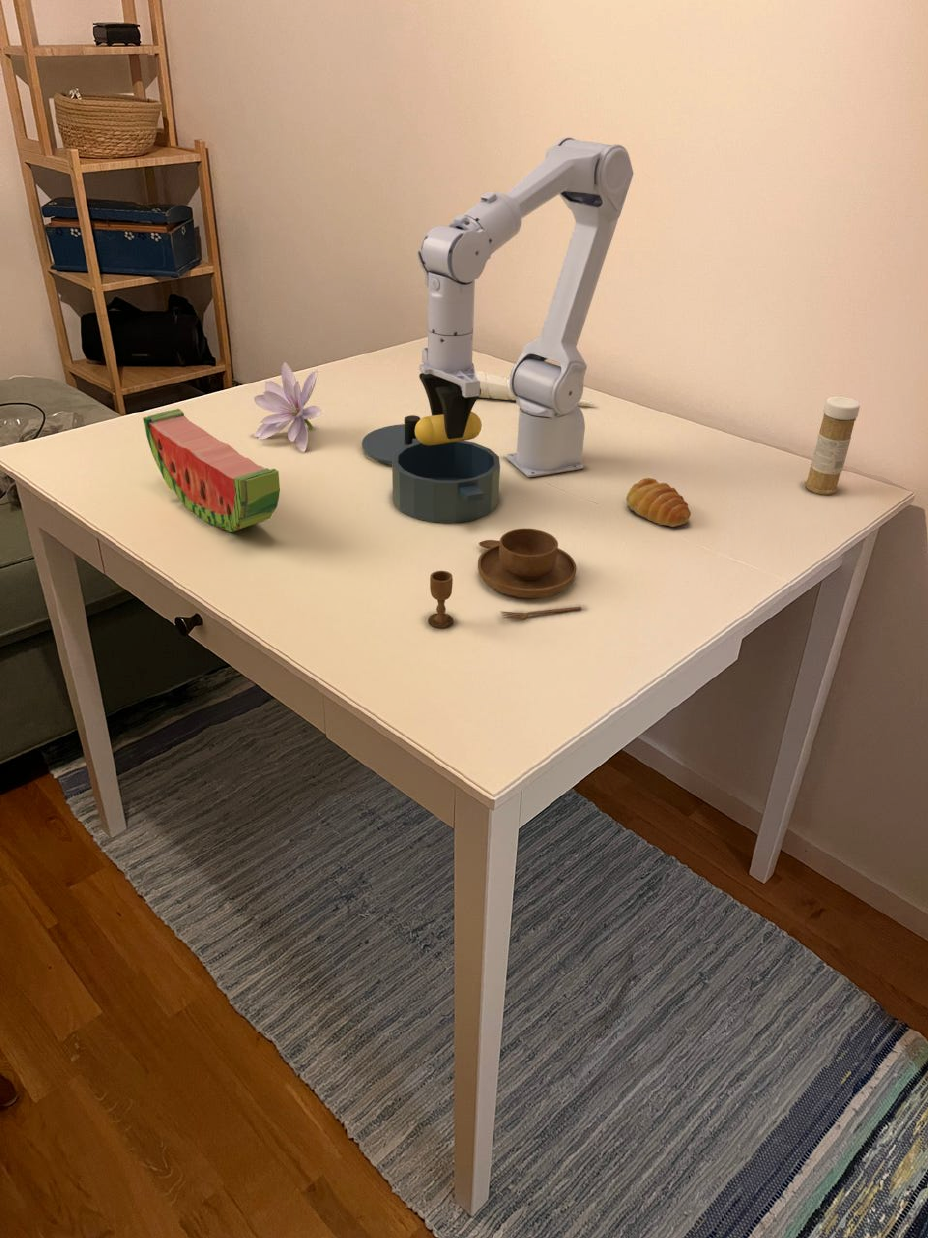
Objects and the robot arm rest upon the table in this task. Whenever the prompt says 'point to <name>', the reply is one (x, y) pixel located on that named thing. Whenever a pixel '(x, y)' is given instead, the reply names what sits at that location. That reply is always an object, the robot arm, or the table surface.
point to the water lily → (287, 407)
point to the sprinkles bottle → (832, 444)
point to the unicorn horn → (502, 388)
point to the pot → (445, 481)
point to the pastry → (658, 503)
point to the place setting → (513, 571)
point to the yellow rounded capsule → (434, 430)
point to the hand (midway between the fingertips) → (448, 431)
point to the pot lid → (390, 439)
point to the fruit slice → (211, 473)
